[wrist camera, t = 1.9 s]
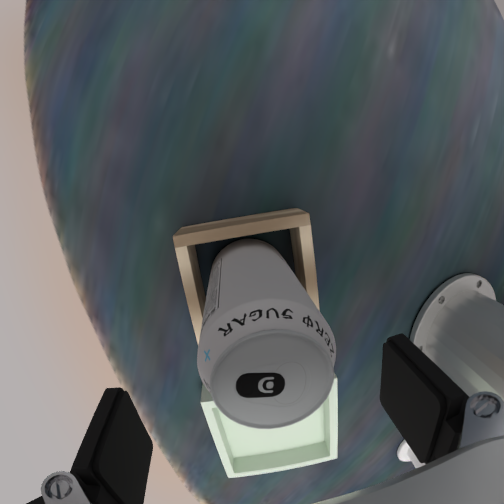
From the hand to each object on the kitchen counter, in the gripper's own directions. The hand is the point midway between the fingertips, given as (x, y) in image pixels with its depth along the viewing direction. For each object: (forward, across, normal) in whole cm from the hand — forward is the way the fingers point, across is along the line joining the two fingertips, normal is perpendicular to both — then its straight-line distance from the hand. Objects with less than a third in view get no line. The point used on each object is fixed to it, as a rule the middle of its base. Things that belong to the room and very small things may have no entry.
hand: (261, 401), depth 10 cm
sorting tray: (+16, -1, +16) cm, 23 cm away
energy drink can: (+16, -1, 0) cm, 16 cm away
